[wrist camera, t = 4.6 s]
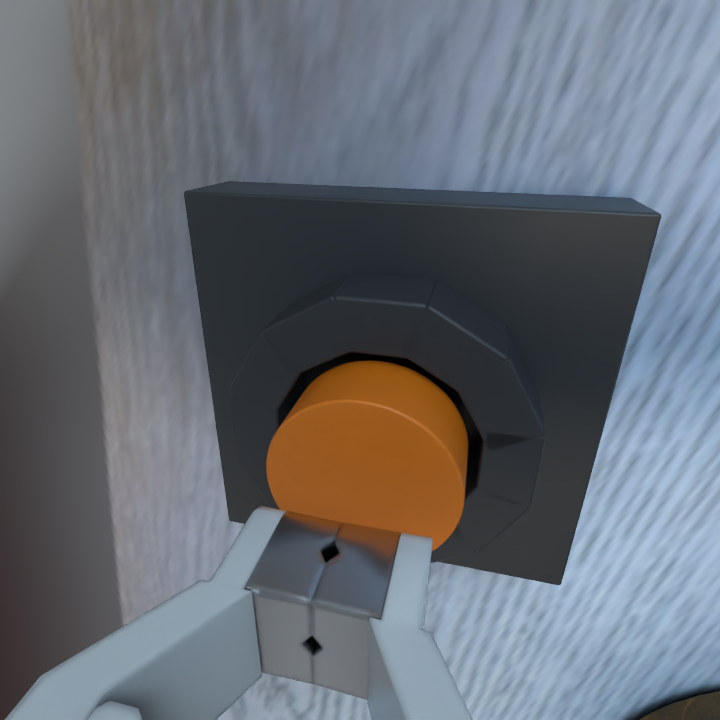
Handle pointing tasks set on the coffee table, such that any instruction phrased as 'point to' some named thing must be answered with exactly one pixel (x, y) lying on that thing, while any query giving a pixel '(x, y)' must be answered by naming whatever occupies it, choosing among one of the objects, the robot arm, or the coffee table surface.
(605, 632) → the coffee table surface
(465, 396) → the control block
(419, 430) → the release button
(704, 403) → the coffee table surface
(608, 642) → the coffee table surface
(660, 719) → the wooden container
